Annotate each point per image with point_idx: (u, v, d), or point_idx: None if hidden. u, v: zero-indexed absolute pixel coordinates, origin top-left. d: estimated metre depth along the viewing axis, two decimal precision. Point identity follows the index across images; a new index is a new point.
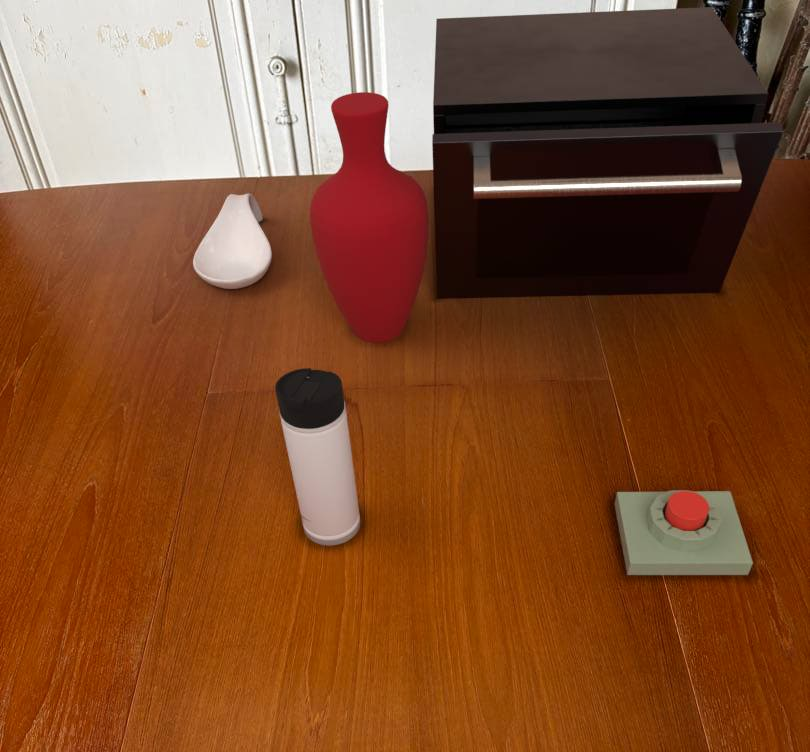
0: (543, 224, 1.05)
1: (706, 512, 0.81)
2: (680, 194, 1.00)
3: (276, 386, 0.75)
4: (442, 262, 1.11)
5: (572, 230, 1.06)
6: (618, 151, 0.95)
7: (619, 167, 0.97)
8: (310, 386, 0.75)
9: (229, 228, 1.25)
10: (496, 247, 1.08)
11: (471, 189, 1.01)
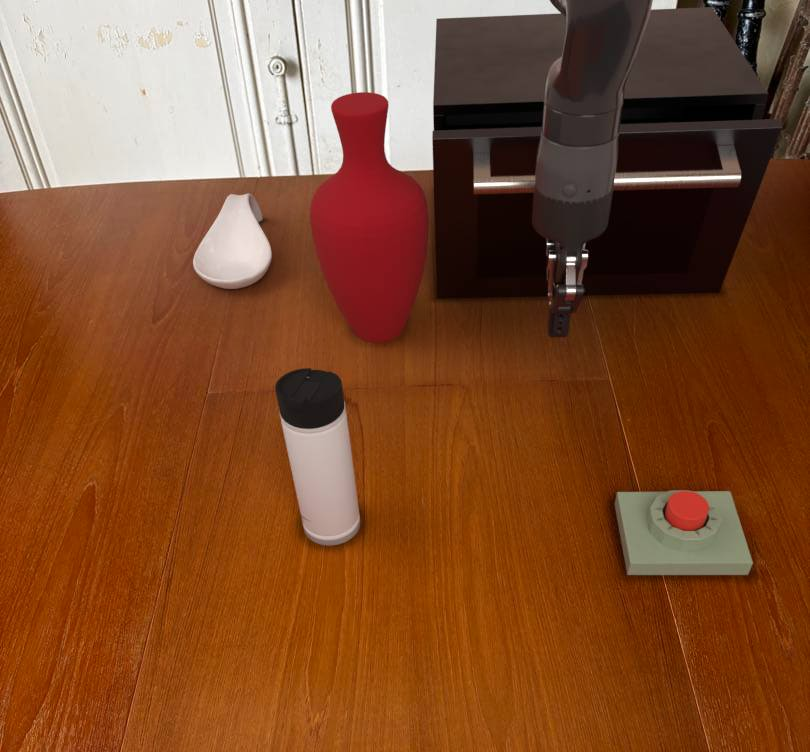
0: None
1: (706, 512, 0.81)
2: (680, 191, 1.00)
3: (276, 386, 0.75)
4: (442, 261, 1.11)
5: None
6: (618, 147, 0.96)
7: (618, 164, 0.97)
8: (310, 386, 0.75)
9: (229, 228, 1.25)
10: (496, 246, 1.08)
11: (471, 186, 1.01)
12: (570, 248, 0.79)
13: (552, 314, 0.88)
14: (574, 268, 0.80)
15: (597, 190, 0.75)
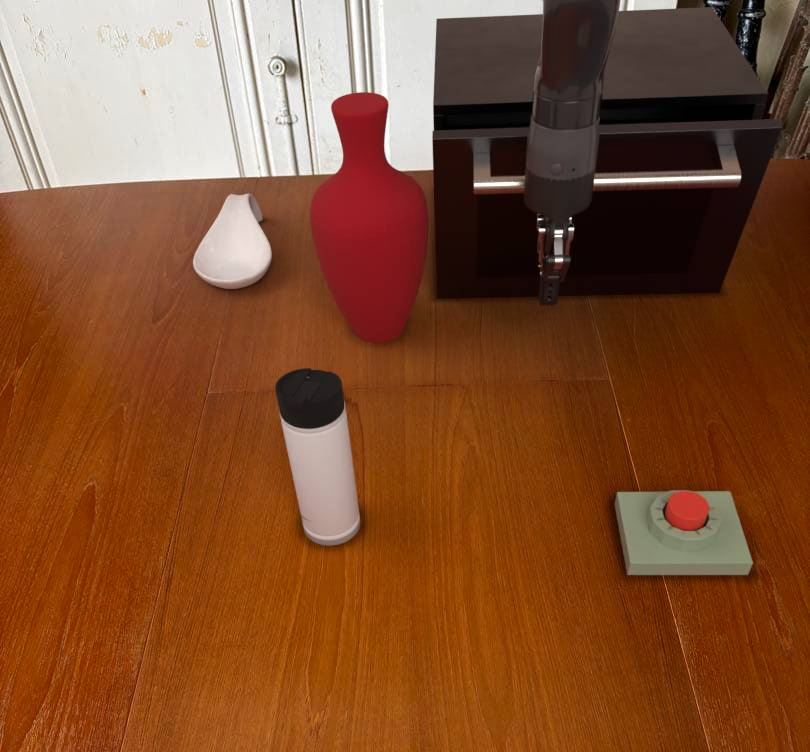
0: None
1: (706, 512, 0.81)
2: (680, 191, 1.00)
3: (276, 386, 0.75)
4: (442, 261, 1.11)
5: None
6: (618, 147, 0.96)
7: (618, 164, 0.97)
8: (310, 386, 0.75)
9: (229, 228, 1.25)
10: (496, 246, 1.08)
11: (471, 186, 1.01)
12: (557, 222, 0.89)
13: (543, 284, 0.98)
14: (561, 240, 0.90)
15: (581, 169, 0.85)
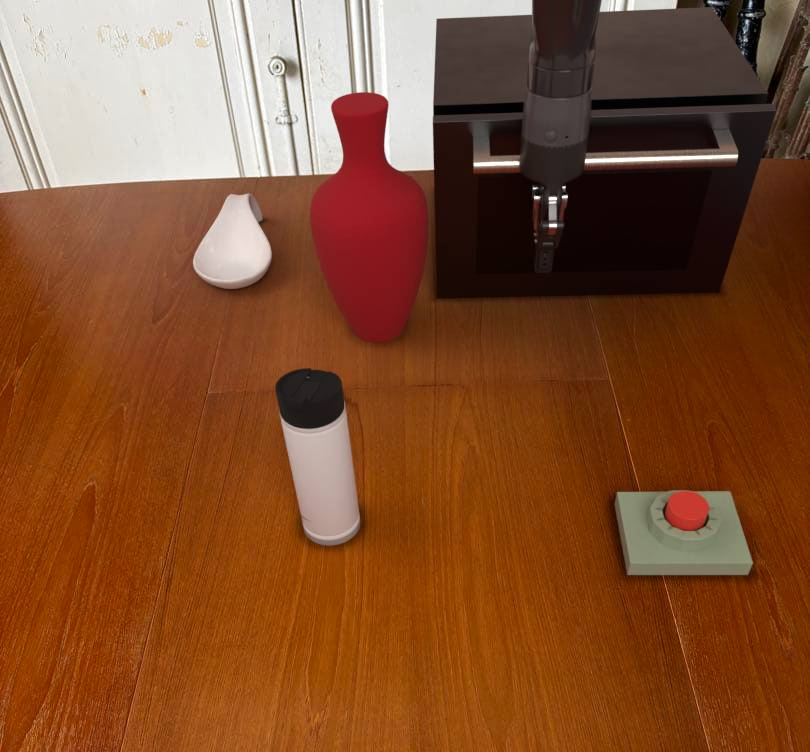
0: None
1: (706, 512, 0.81)
2: (677, 179, 1.01)
3: (276, 386, 0.75)
4: (442, 256, 1.12)
5: (571, 220, 1.06)
6: (615, 132, 0.97)
7: (616, 150, 0.99)
8: (310, 386, 0.75)
9: (229, 228, 1.25)
10: (496, 239, 1.09)
11: (471, 173, 1.02)
12: (552, 188, 0.93)
13: (538, 251, 1.02)
14: (555, 206, 0.94)
15: (574, 136, 0.89)
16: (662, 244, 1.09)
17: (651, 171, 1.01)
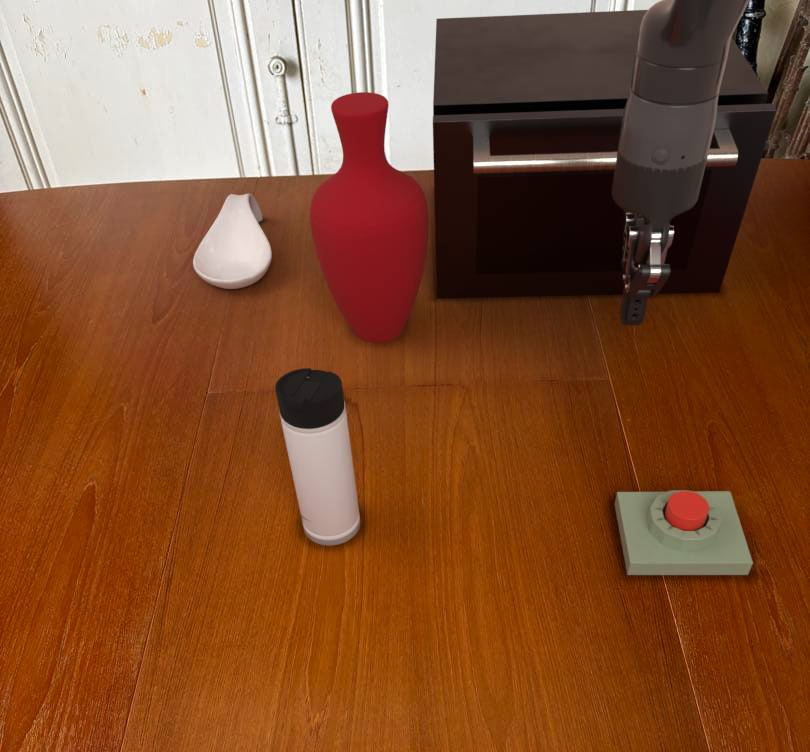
0: (542, 213, 1.06)
1: (706, 512, 0.81)
2: None
3: (276, 386, 0.75)
4: (442, 256, 1.12)
5: (571, 220, 1.06)
6: (615, 131, 0.97)
7: (616, 149, 0.99)
8: (310, 386, 0.75)
9: (229, 228, 1.25)
10: (496, 238, 1.09)
11: (471, 173, 1.02)
12: (656, 223, 0.71)
13: (627, 299, 0.80)
14: (659, 246, 0.72)
15: (692, 156, 0.67)
16: None
17: None
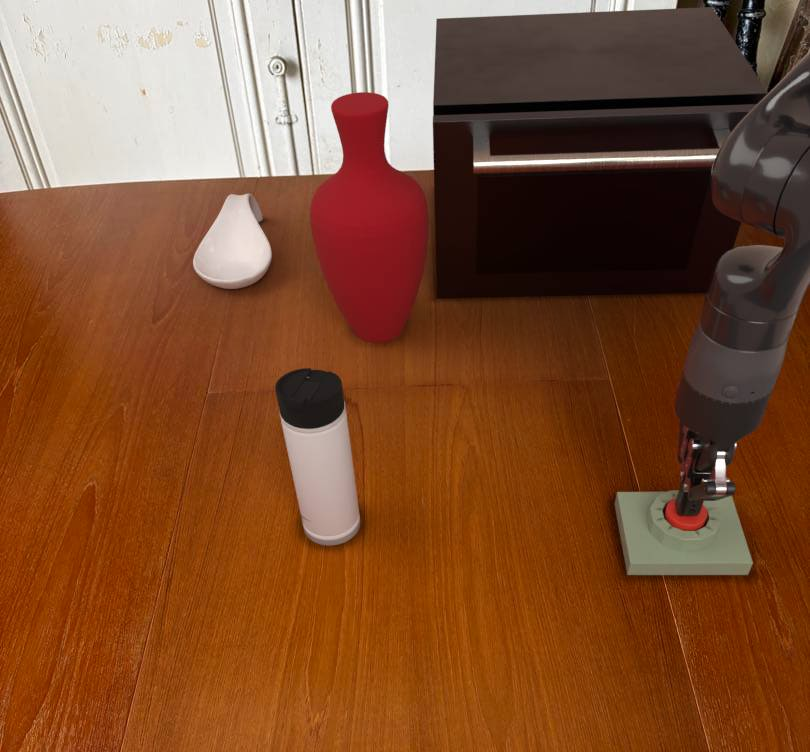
0: (542, 213, 1.06)
1: (704, 518, 0.82)
2: (677, 179, 1.01)
3: (276, 386, 0.75)
4: (442, 256, 1.12)
5: (571, 220, 1.06)
6: (615, 131, 0.97)
7: (616, 149, 0.99)
8: (310, 386, 0.75)
9: (229, 228, 1.25)
10: (496, 238, 1.09)
11: (471, 173, 1.02)
12: (722, 445, 0.71)
13: (685, 495, 0.80)
14: (724, 464, 0.72)
15: (761, 391, 0.67)
16: (662, 244, 1.09)
17: (651, 170, 1.01)
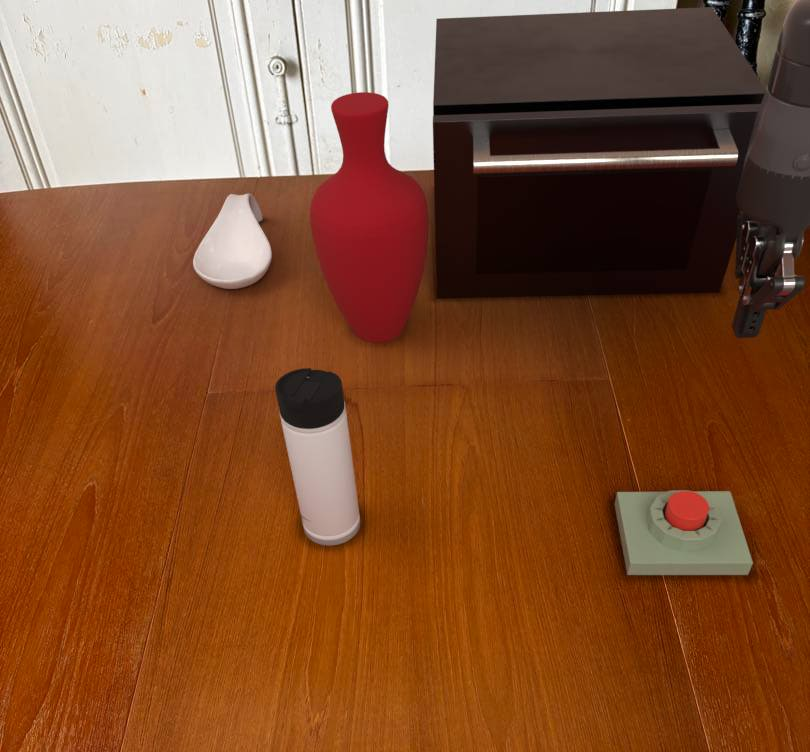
0: (542, 213, 1.06)
1: (706, 512, 0.81)
2: (677, 179, 1.01)
3: (276, 386, 0.75)
4: (442, 256, 1.12)
5: (571, 220, 1.06)
6: (615, 131, 0.97)
7: (616, 149, 0.99)
8: (310, 386, 0.75)
9: (229, 228, 1.25)
10: (496, 238, 1.09)
11: (471, 173, 1.02)
12: (790, 233, 0.66)
13: (744, 311, 0.75)
14: (792, 256, 0.67)
15: None
16: (662, 244, 1.09)
17: (651, 170, 1.01)
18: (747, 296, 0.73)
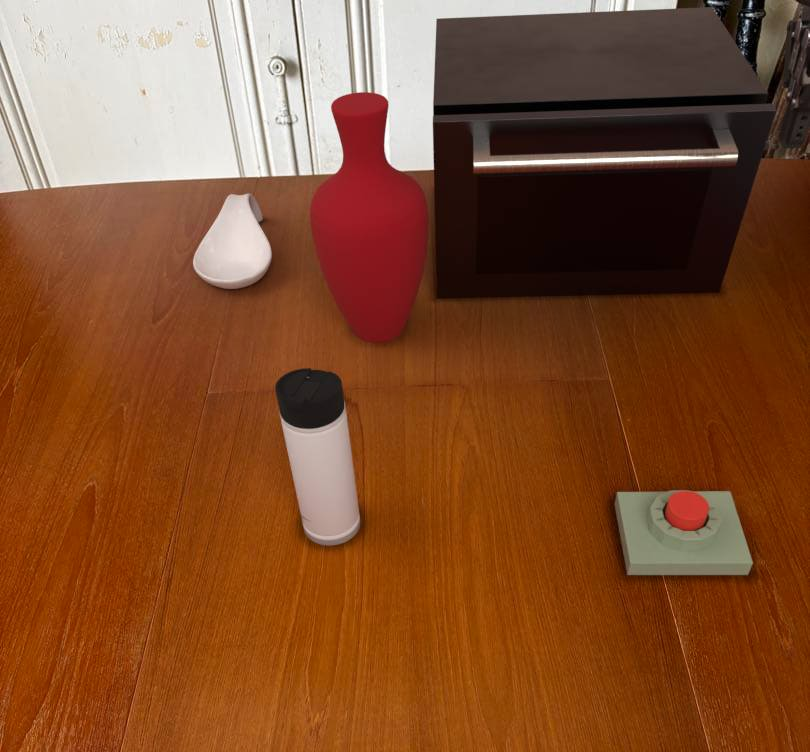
0: (542, 213, 1.06)
1: (706, 512, 0.81)
2: (677, 179, 1.01)
3: (276, 386, 0.75)
4: (442, 256, 1.12)
5: (571, 220, 1.06)
6: (615, 131, 0.97)
7: (616, 149, 0.99)
8: (310, 386, 0.75)
9: (229, 228, 1.25)
10: (496, 238, 1.09)
11: (471, 173, 1.02)
12: None
13: (792, 117, 0.79)
14: None
15: None
16: (662, 244, 1.09)
17: (651, 170, 1.01)
18: (796, 98, 0.77)
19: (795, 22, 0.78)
